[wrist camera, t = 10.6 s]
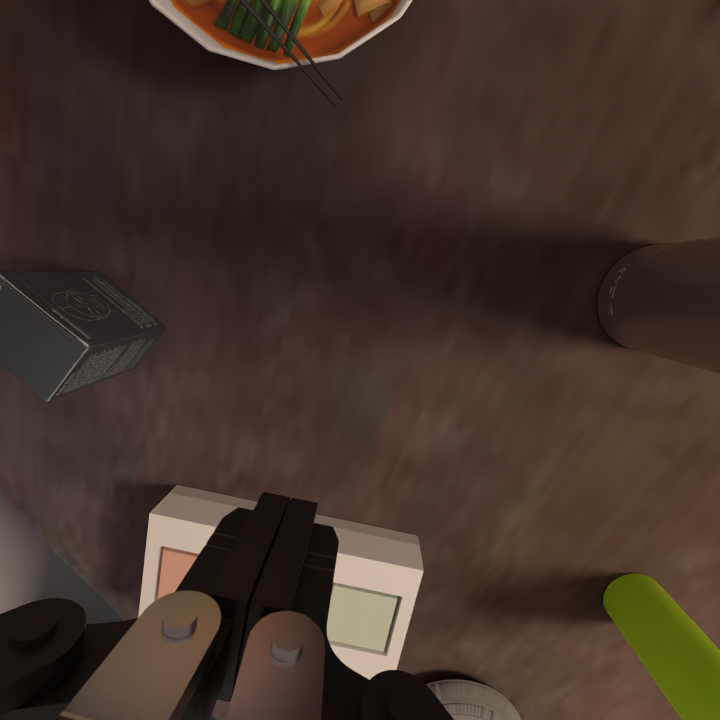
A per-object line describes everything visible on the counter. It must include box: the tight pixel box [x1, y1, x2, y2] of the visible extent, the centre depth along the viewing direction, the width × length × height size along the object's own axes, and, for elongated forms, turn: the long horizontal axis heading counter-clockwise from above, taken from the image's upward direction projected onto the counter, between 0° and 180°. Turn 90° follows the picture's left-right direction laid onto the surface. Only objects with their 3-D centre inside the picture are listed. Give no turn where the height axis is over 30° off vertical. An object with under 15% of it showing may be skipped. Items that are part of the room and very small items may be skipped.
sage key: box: [327, 582, 397, 652], centre depth 39 cm, size 6×6×3 cm
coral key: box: [158, 547, 199, 599], centre depth 39 cm, size 6×6×3 cm
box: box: [0, 272, 165, 401], centre depth 32 cm, size 8×6×11 cm
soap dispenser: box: [603, 573, 720, 720], centre depth 31 cm, size 6×7×20 cm
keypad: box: [138, 485, 423, 680], centre depth 40 cm, size 25×16×5 cm, turn 78°
